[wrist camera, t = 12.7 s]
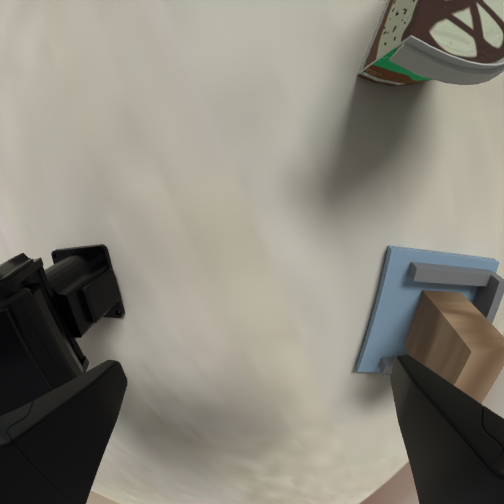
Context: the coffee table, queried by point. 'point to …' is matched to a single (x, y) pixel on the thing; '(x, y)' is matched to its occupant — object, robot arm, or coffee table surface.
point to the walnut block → (456, 342)
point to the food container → (437, 42)
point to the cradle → (408, 294)
